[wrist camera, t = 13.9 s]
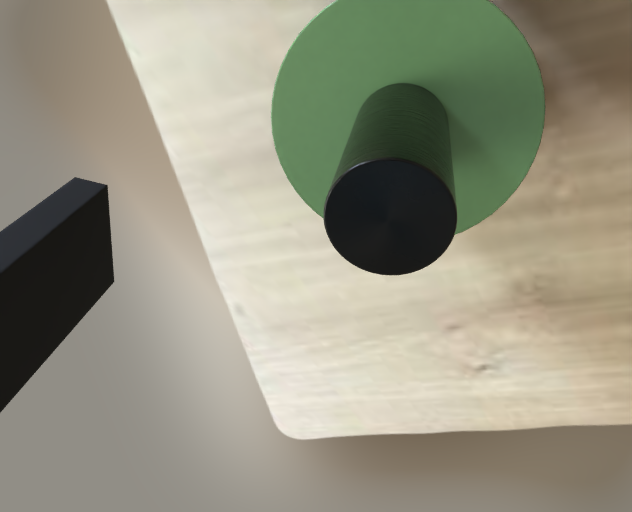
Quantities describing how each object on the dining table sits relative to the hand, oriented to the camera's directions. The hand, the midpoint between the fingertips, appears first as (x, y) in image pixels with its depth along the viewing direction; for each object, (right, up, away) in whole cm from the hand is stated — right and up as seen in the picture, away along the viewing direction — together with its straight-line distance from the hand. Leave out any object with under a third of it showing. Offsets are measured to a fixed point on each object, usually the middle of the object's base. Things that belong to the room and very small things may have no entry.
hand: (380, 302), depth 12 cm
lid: (+2, +7, +11) cm, 13 cm away
